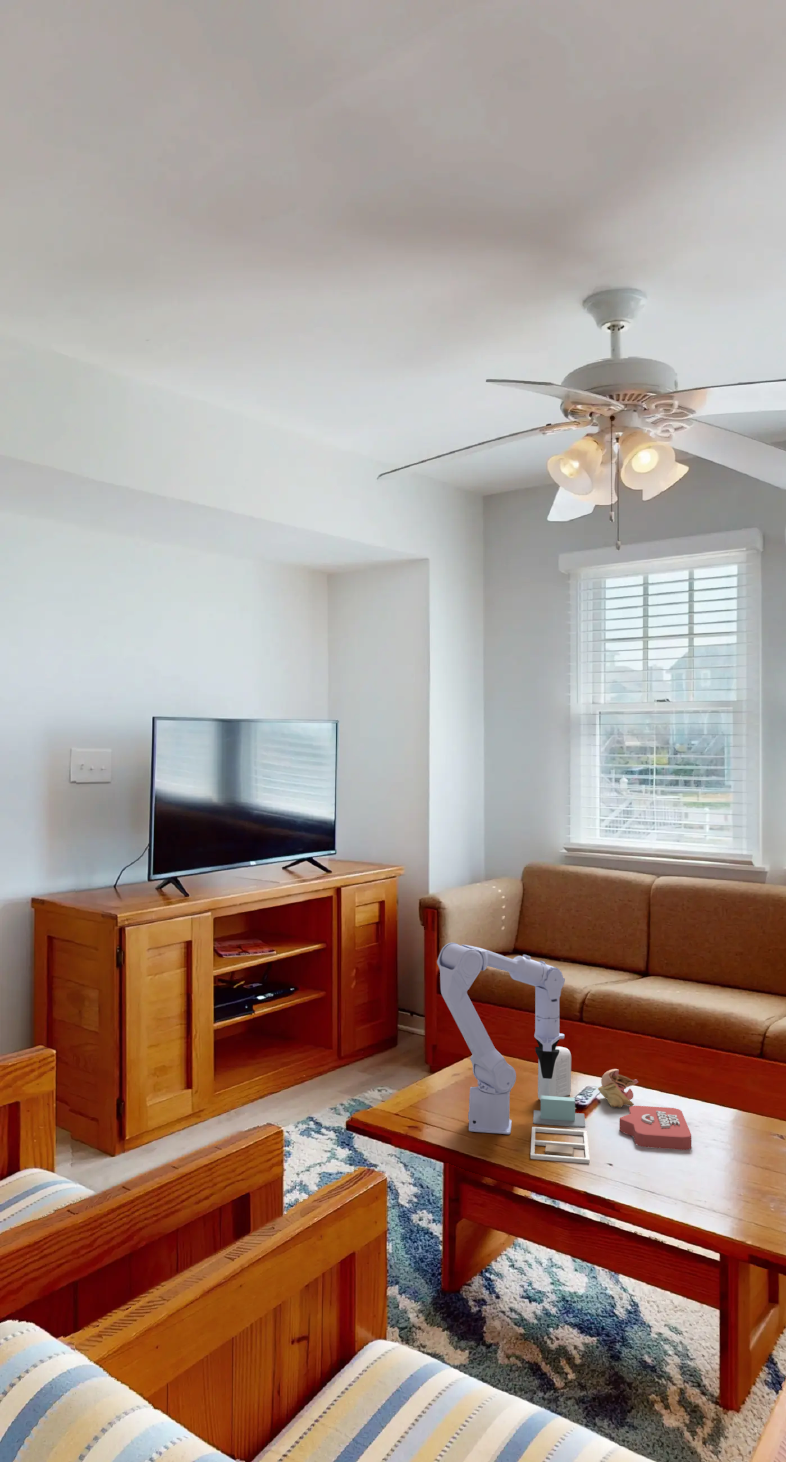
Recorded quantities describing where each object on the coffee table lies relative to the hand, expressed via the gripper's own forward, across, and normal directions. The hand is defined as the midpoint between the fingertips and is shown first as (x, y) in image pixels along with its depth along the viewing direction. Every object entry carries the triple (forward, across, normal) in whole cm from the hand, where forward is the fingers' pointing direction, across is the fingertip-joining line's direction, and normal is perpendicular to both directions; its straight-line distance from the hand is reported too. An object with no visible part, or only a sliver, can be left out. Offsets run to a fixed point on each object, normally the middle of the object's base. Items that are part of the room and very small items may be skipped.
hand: (547, 1072), depth 229 cm
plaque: (+11, -5, -24) cm, 27 cm away
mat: (+10, -1, -3) cm, 11 cm away
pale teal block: (+10, -1, -2) cm, 10 cm away
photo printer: (+11, +14, -2) cm, 18 cm away
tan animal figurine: (+11, +13, -17) cm, 24 cm away
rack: (+10, -17, -3) cm, 20 cm away
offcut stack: (+11, -21, -3) cm, 24 cm away
